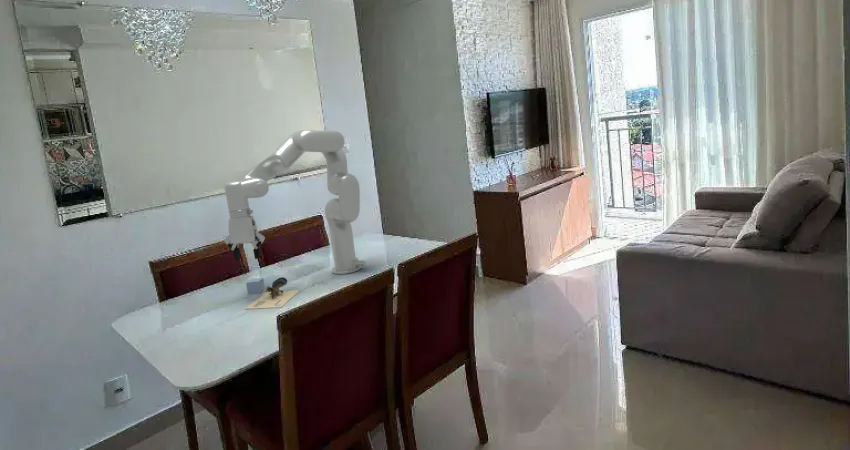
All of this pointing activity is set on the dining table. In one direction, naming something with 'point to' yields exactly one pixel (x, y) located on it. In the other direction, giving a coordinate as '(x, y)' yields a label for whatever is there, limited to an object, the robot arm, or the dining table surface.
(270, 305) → the letter
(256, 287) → the blue block
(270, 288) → the squirrel figurine
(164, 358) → the dining table surface
